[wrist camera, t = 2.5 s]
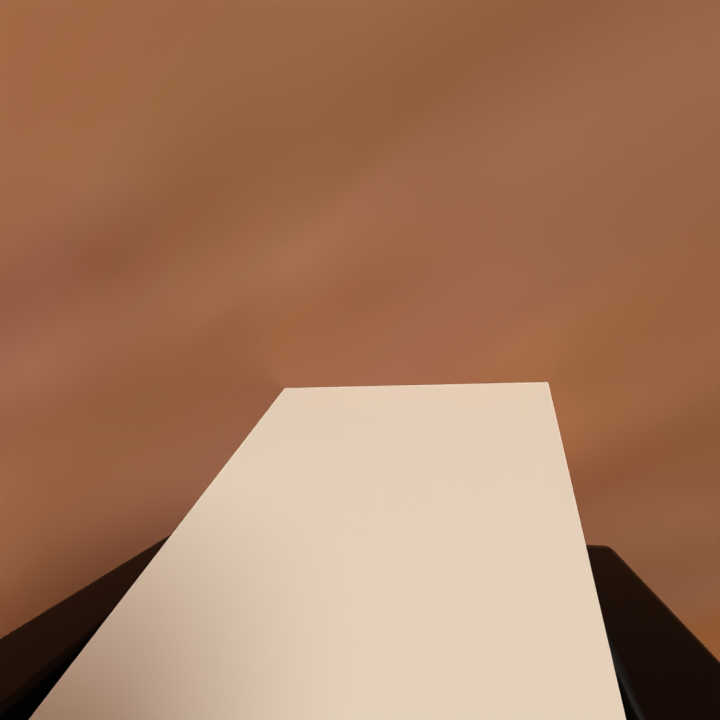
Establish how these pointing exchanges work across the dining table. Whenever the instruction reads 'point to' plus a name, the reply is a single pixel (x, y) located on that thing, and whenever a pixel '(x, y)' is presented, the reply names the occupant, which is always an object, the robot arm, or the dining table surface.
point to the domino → (366, 574)
